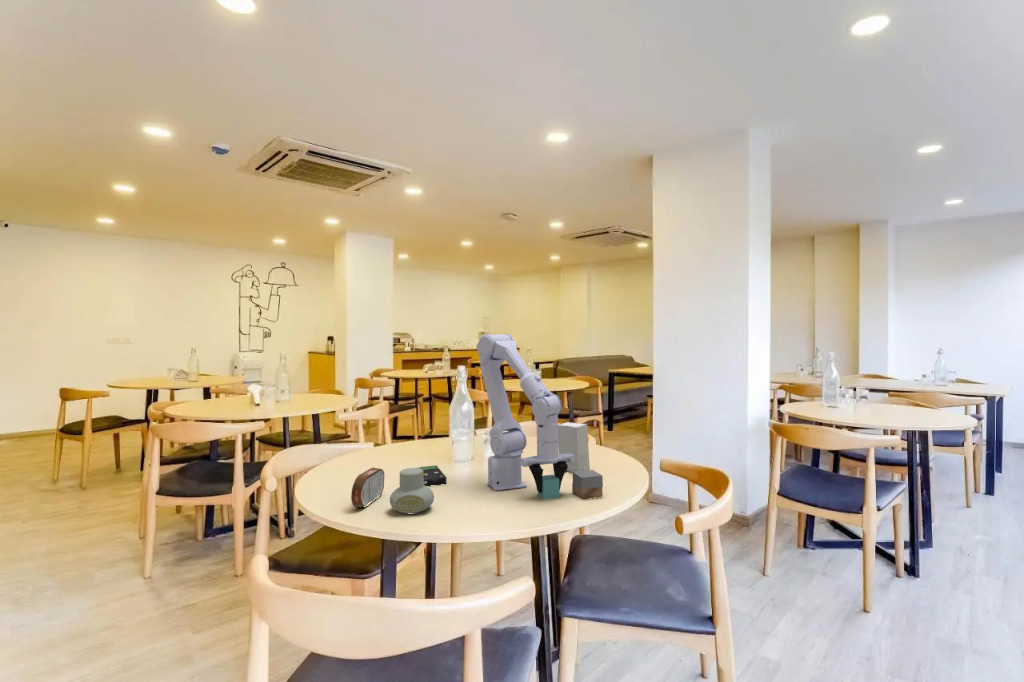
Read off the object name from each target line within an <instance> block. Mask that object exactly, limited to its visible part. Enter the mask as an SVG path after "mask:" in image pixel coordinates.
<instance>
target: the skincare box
mask: <svg viewBox="0 0 1024 682" xmlns="http://www.w3.org/2000/svg"><path fill="white" fill-rule="evenodd" d="M588 436H589V435H588V424H587V423H578V422H570V421H566V422H563V423H558V454H573V455H574V462H566V464H567V465H568V468H567V470H566V472H570V473H572V472H577V471H586V470H591V469H590V467H591V466H590V451H589V437H588Z"/></svg>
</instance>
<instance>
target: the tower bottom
mask: <svg viewBox="0 0 1024 682" xmlns="http://www.w3.org/2000/svg"><path fill="white" fill-rule="evenodd" d="M571 484H572V485H571V489H572V490H571V491H572V494H573V495H575V496H576V497H577V498H579V499H580V500H581V501H584V500H590V499H589V498H592V499H595V498H594V497H599V498H602V497H601V496H603V487H597V488H588V489H581V488H580V487H578V486H577V485H575V484H574V483H573V482H572V483H571ZM583 499H584V500H583Z"/></svg>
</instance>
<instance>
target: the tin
mask: <svg viewBox="0 0 1024 682" xmlns="http://www.w3.org/2000/svg"><path fill="white" fill-rule="evenodd" d="M384 488H385V471H384V469H382V468H379V467H370V468H369V469H367V470H365V471H364V472H362V473H359V474H358V476H356V477H355V480H354V482H353V483H352V489H351V495H350V499H351V500H350V501H351V505H352V506H353V507H354V508H359V507H364V506H366V505H367V504H368V503H369V502H371V501H373V500H374V499H375V498H377V497H378V496H379V495H381V496H382V494H383V492H384Z"/></svg>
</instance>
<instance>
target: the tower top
mask: <svg viewBox="0 0 1024 682" xmlns="http://www.w3.org/2000/svg"><path fill="white" fill-rule="evenodd" d="M571 473H572V483H574V484H575V485H577V486H578V487H580V488H581V489H588V488H597V487H602V488H603V487H604V486H603V485H604V484H603V483H604V482H603V479H604V477H603V474H601V473H599V472H597V471H595V470H594V469H589V470H586V471H577V472H571Z"/></svg>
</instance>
